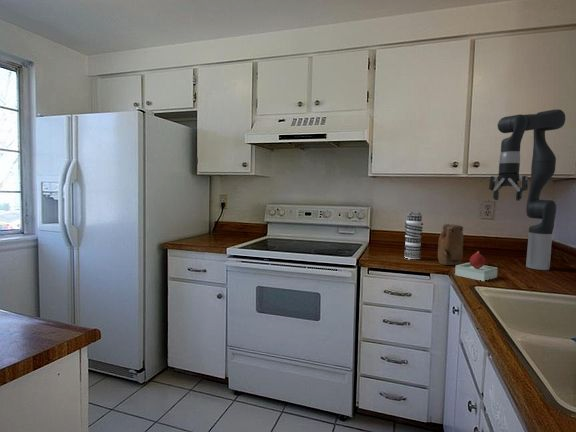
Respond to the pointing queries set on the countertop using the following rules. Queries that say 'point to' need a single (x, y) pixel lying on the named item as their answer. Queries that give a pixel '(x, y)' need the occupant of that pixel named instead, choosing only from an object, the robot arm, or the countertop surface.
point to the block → (450, 245)
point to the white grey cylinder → (413, 235)
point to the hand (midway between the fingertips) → (506, 200)
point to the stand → (476, 272)
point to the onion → (477, 260)
